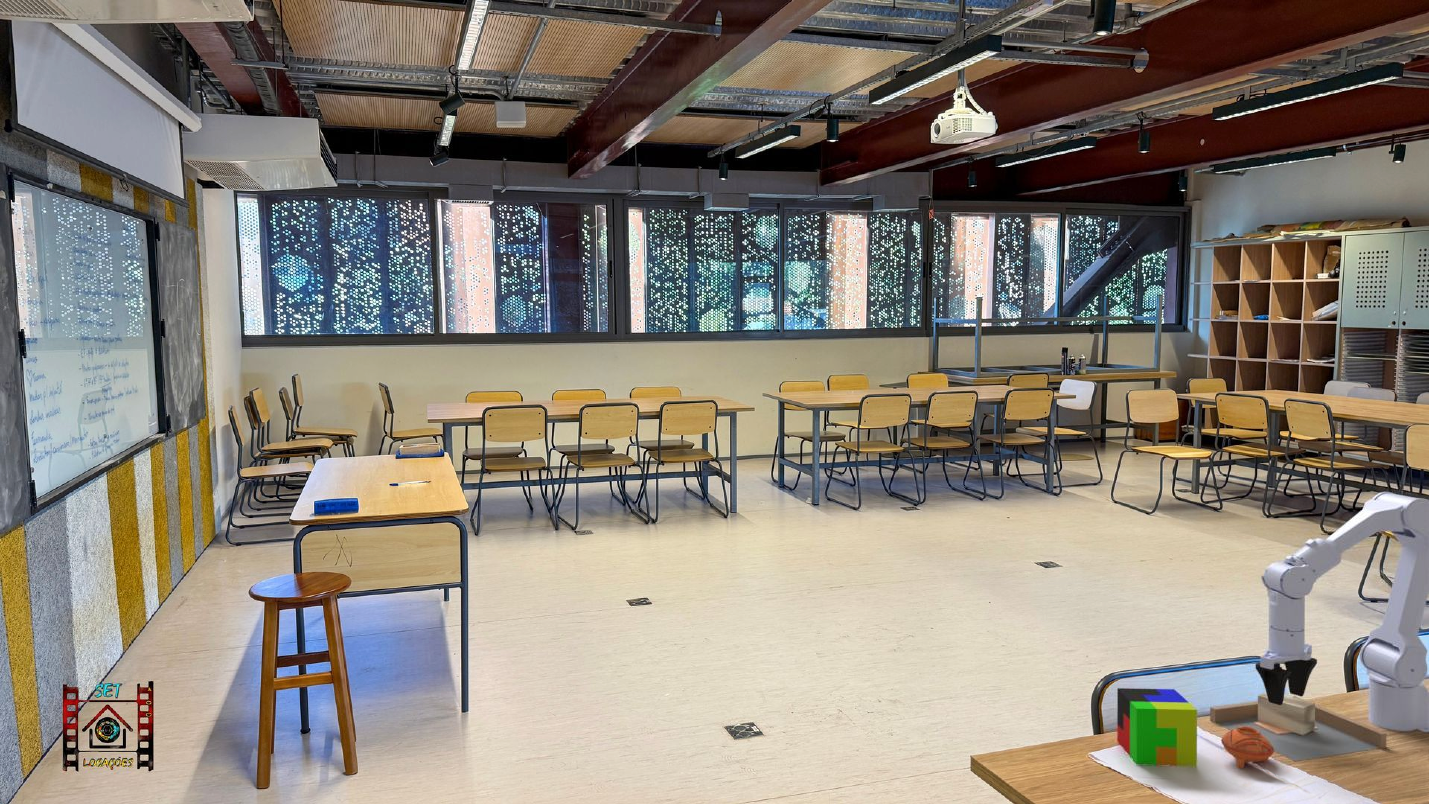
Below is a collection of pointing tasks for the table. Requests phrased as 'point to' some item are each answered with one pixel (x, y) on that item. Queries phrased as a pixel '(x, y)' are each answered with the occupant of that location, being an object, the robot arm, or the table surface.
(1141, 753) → the puzzle toy
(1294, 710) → the birch block
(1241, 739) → the pot
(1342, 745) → the tray
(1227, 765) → the table surface
